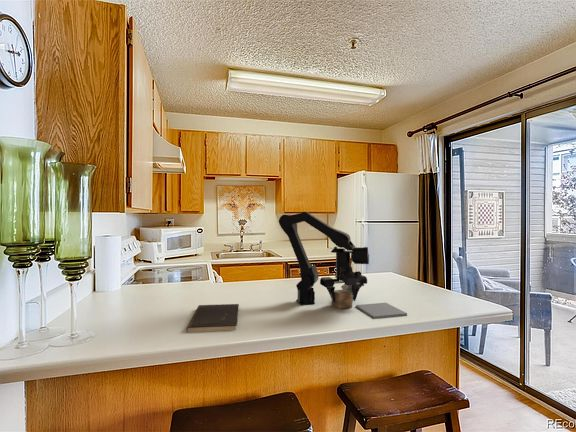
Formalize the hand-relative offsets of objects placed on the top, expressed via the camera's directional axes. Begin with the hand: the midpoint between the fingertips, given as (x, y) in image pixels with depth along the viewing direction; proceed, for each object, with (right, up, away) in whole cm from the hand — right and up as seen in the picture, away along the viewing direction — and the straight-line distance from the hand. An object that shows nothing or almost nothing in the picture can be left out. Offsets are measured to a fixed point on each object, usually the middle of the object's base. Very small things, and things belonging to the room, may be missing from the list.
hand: (344, 301), depth 125 cm
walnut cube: (-1, -2, +1) cm, 2 cm away
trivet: (+13, -2, -5) cm, 14 cm away
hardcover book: (-49, -3, -15) cm, 52 cm away
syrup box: (+7, +2, +19) cm, 20 cm away
